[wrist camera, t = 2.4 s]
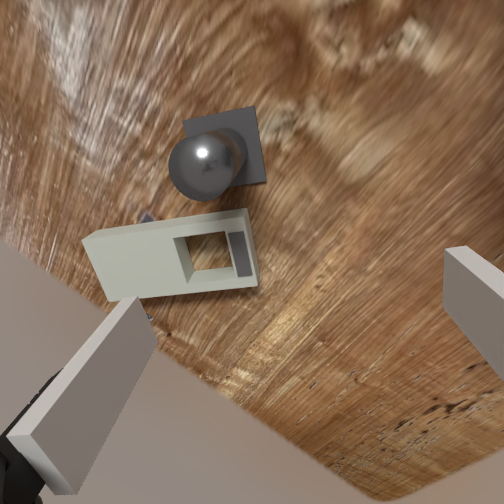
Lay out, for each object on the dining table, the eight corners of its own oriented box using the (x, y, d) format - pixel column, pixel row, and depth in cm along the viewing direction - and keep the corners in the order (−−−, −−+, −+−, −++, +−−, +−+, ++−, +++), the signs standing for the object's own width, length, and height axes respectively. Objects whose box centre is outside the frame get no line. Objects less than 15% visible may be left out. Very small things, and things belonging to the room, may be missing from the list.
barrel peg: (198, 132, 29) (160, 142, 20) (243, 123, 29) (223, 130, 20) (209, 177, 31) (178, 205, 22) (251, 170, 30) (237, 196, 21)
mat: (183, 120, 29) (182, 120, 29) (254, 105, 28) (254, 105, 28) (201, 191, 32) (200, 191, 32) (266, 180, 31) (266, 181, 31)
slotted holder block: (96, 230, 35) (80, 241, 32) (247, 207, 32) (243, 217, 29) (121, 288, 38) (107, 302, 36) (259, 272, 36) (257, 286, 33)
